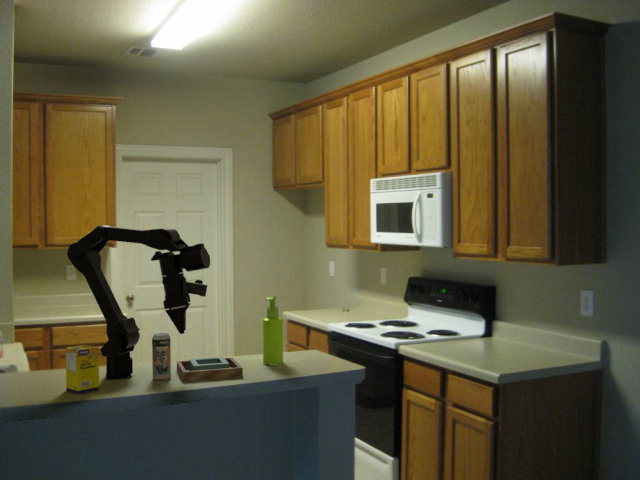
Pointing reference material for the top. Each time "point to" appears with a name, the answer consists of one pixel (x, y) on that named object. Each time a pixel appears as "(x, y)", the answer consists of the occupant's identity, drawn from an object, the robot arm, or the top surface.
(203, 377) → the walnut box
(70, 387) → the supplement box
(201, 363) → the bore plate
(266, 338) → the soap dispenser
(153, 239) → the robot arm
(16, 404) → the top surface
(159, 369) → the beer can
